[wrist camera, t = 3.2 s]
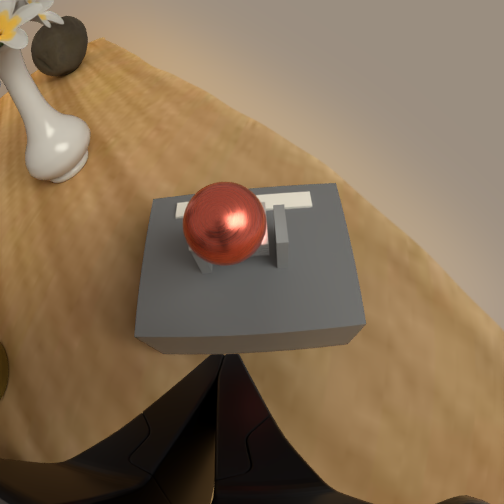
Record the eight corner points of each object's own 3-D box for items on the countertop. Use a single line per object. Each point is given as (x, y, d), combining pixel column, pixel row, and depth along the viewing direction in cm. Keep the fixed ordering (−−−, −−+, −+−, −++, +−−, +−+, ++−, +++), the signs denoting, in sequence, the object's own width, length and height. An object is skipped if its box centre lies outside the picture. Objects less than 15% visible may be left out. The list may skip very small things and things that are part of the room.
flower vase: (31, 244, 27) (-103, 74, 5) (36, 154, 36) (-36, 27, 14) (128, 188, 29) (25, -37, 7) (108, 112, 38) (51, -31, 16)
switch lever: (270, 267, 17) (269, 260, 9) (217, 271, 17) (173, 267, 9) (266, 215, 18) (262, 166, 10) (214, 219, 18) (170, 175, 10)
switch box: (347, 344, 20) (381, 306, 13) (163, 354, 21) (111, 322, 14) (327, 223, 25) (340, 154, 18) (172, 236, 26) (139, 173, 19)
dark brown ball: (104, 59, 52) (84, 5, 39) (49, 92, 48) (24, 40, 35) (88, 52, 58) (71, 7, 45) (42, 81, 54) (21, 37, 41)
